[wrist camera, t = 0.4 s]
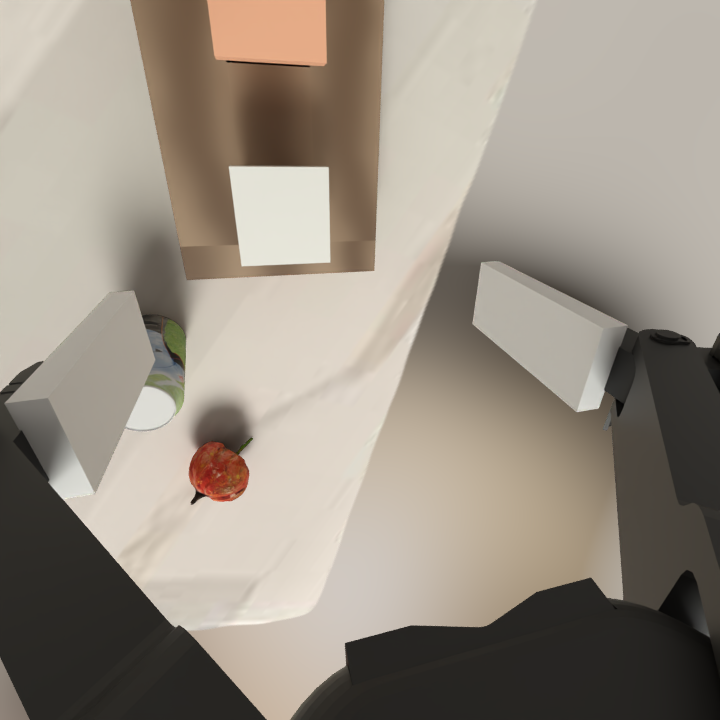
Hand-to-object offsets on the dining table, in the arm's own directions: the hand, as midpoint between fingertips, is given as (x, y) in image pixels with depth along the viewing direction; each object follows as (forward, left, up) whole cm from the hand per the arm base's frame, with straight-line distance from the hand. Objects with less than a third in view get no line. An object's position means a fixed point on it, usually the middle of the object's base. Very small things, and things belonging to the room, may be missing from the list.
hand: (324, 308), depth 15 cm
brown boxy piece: (-1, +7, -27) cm, 28 cm away
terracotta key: (-1, +13, -23) cm, 26 cm away
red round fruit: (-10, -29, -27) cm, 41 cm away
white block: (-1, +1, -23) cm, 23 cm away
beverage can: (-14, -13, -27) cm, 33 cm away
